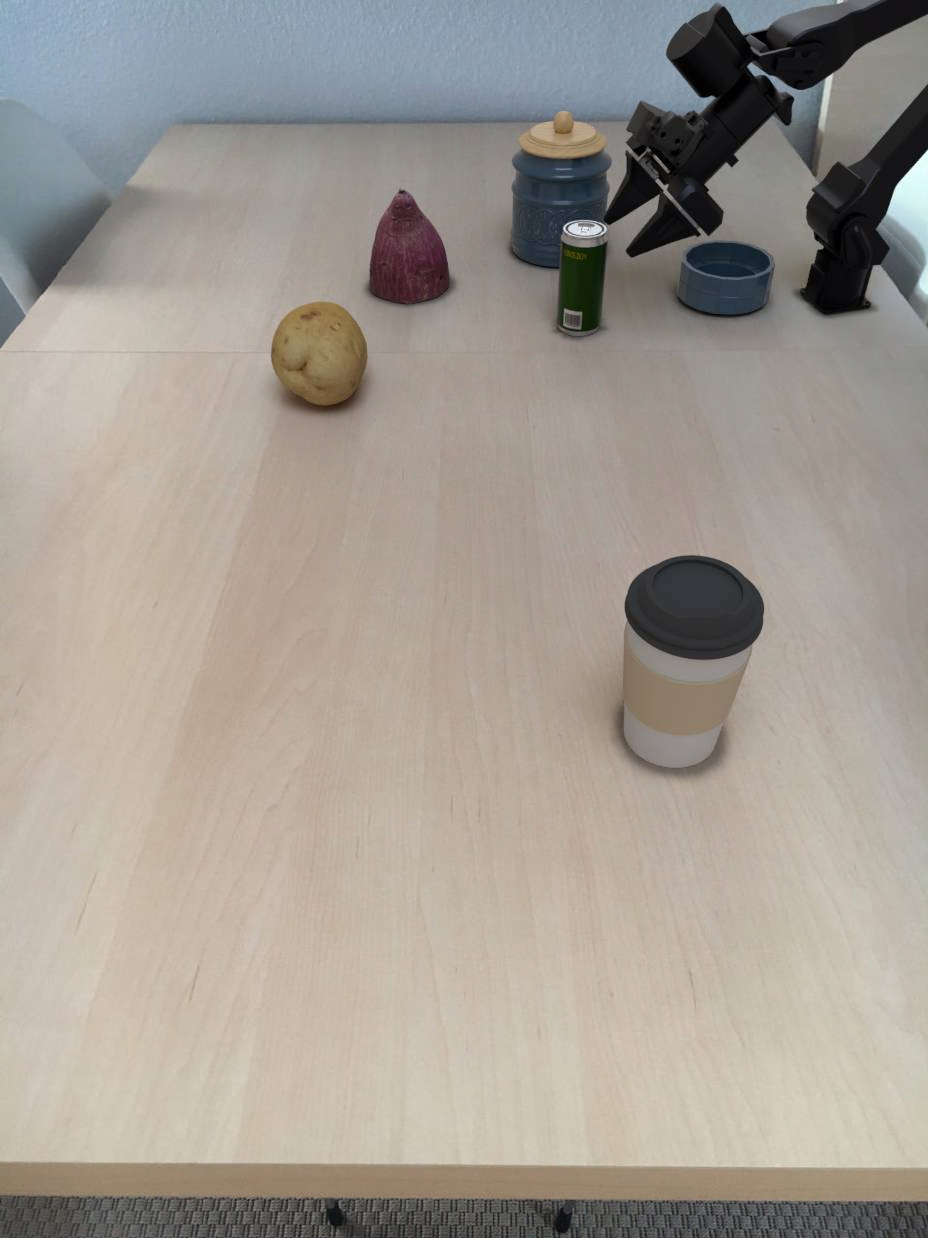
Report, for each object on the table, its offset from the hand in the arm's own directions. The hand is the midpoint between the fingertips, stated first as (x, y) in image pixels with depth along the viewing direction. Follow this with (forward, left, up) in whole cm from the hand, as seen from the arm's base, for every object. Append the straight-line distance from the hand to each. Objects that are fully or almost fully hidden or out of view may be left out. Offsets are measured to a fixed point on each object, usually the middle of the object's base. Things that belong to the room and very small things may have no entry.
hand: (616, 237), depth 113 cm
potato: (+36, +6, -11) cm, 38 cm away
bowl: (-16, -2, -11) cm, 19 cm away
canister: (-1, -22, -11) cm, 25 cm away
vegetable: (+21, -17, -11) cm, 29 cm away
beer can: (+4, 0, -11) cm, 11 cm away
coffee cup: (+19, +62, -11) cm, 65 cm away
